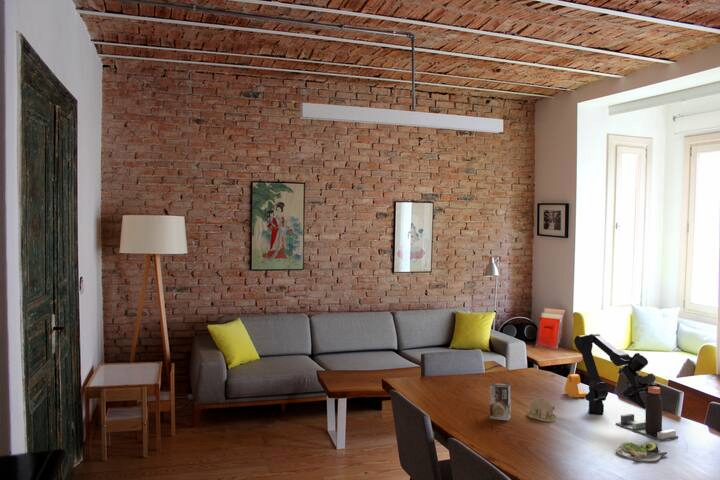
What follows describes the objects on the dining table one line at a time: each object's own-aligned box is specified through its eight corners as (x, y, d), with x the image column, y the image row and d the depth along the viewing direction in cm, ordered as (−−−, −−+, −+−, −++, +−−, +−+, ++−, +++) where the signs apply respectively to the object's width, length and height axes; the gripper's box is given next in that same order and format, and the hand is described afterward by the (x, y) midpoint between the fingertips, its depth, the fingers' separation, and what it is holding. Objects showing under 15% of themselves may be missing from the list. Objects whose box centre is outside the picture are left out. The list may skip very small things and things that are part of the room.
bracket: (587, 398, 331) (587, 376, 331) (575, 398, 329) (575, 376, 329) (576, 393, 341) (576, 371, 341) (564, 393, 340) (564, 372, 339)
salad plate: (656, 469, 233) (656, 457, 233) (608, 457, 245) (608, 446, 244) (669, 455, 248) (669, 444, 248) (624, 444, 259) (624, 434, 259)
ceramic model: (559, 417, 296) (559, 397, 296) (551, 423, 287) (551, 402, 287) (531, 412, 304) (531, 392, 304) (523, 417, 295) (523, 397, 295)
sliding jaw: (619, 423, 285) (619, 415, 285) (633, 420, 289) (633, 413, 288) (635, 429, 276) (635, 421, 276) (649, 426, 280) (650, 419, 280)
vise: (615, 424, 285) (615, 417, 285) (632, 421, 290) (633, 415, 290) (660, 441, 263) (660, 433, 263) (678, 437, 267) (678, 430, 267)
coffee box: (511, 417, 295) (511, 384, 295) (508, 421, 289) (508, 387, 289) (492, 414, 299) (492, 382, 299) (489, 418, 293) (489, 385, 293)
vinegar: (664, 432, 273) (665, 387, 272) (657, 435, 268) (658, 390, 268) (649, 428, 278) (650, 384, 278) (642, 431, 274) (643, 387, 273)
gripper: (628, 369, 274) (648, 400, 264) (657, 365, 282) (678, 395, 272) (614, 382, 281) (633, 412, 272) (643, 378, 289) (662, 408, 279)
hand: (652, 407), depth 273 cm, fingers open, 9 cm apart
